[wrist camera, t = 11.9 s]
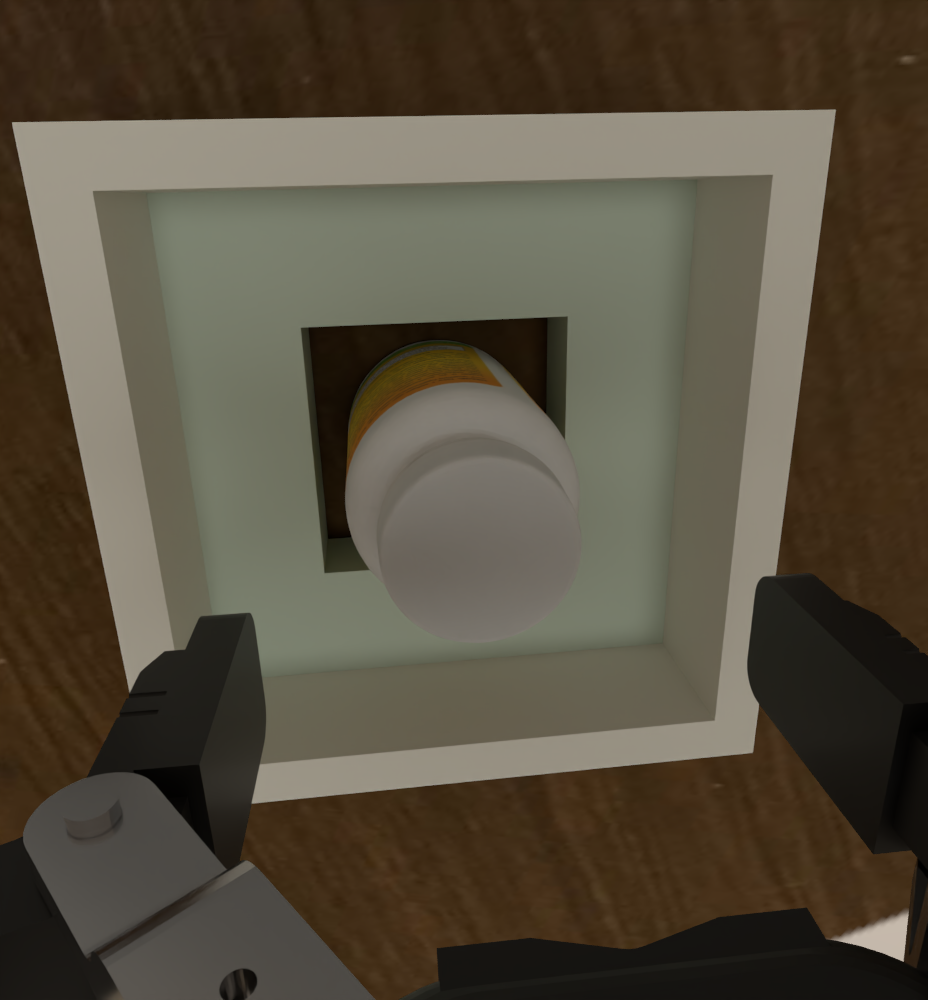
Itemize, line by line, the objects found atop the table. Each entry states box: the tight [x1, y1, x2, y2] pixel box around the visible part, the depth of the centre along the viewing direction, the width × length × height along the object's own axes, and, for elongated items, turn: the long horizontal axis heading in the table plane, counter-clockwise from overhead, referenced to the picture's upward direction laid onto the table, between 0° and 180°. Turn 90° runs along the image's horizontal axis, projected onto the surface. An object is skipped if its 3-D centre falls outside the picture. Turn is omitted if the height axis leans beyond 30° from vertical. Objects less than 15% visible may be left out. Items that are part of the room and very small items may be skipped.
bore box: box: [12, 110, 836, 803], centre depth 21 cm, size 16×16×6 cm
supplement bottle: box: [345, 340, 582, 643], centre depth 20 cm, size 5×5×10 cm
